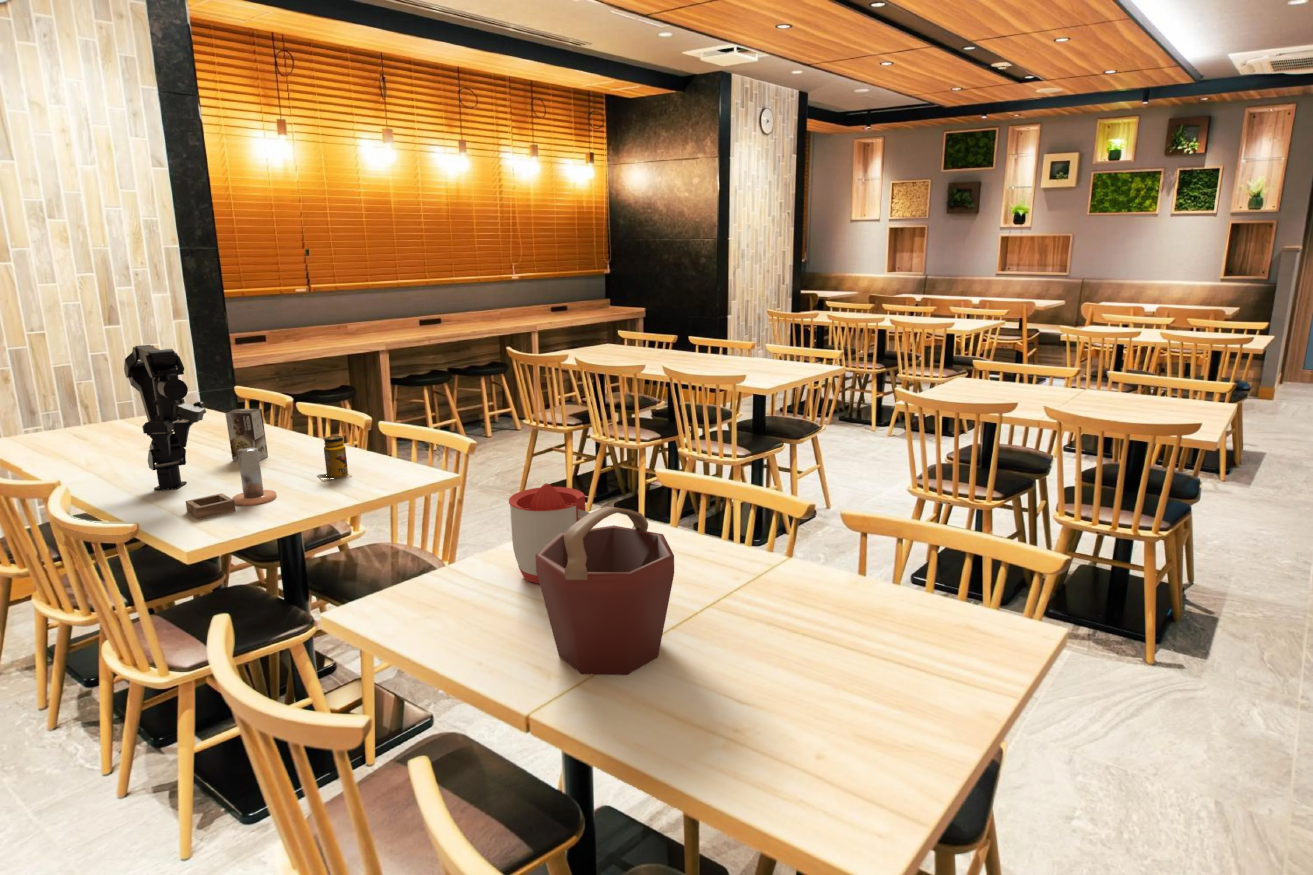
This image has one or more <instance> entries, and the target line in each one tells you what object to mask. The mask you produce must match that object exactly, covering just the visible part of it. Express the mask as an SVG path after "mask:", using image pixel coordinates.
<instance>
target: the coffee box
mask: <svg viewBox="0 0 1313 875" xmlns="http://www.w3.org/2000/svg"><path fill="white" fill-rule="evenodd" d="M263 416H264V415H263V409H262V408H235V409H233V410H230V411H228V412H225V421H226V425H227V432H228V440H229V445H230V453H231V458H232V459H231V460H232V462H239V458H238V450H240V449H244V448H258V454H259V461H261V460H263V459H267V458H268V457H269V453H268V446H267V440H266V439H267V438H266V433H265V423H264V417H263Z"/></svg>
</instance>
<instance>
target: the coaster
mask: <svg viewBox="0 0 1313 875" xmlns="http://www.w3.org/2000/svg"><path fill="white" fill-rule="evenodd" d="M263 491H264V495H263V496H261V497H257V498H244V494H243V492H240V493H239V494H235V495H234V496H233V497H231V499H233V500H234V503H235V506H243V507H244V506H256V505H262V504H267V503H268V502H272V501H274V500H275V499H276V498H277V492H276V491H275V490H272V489H263ZM273 499H274V500H273ZM261 503H262V504H261Z"/></svg>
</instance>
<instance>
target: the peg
mask: <svg viewBox="0 0 1313 875" xmlns="http://www.w3.org/2000/svg"><path fill="white" fill-rule="evenodd" d="M238 458H239V461H238V464H239V472H240V473H239V474H240V478H241V485H242V486H241V487H242V493H243V494H244V498H257V497H261V496H263V495H264V491H263V490H264V487H263V477H262V471H261V470H262V469H261V462H260V461H261V460H259V454H258V448H244V449H240V450H238Z"/></svg>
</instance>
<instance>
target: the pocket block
mask: <svg viewBox="0 0 1313 875" xmlns="http://www.w3.org/2000/svg"><path fill="white" fill-rule="evenodd" d="M185 507H186V512H187V513H188V514H189V515H191V516H192V517H194V518H195V519H197V520H202V519H207V518H211V517H216V516H219V515H224V514H229V513H234V512H236V511H237V510H236V505H235V503H234V500H233V499H232V497H229V496H227V495H225V494H224V493H218V494H212V495H207V496H202V497H199V498H194V499H190V500H189V499H188V500H185Z"/></svg>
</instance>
